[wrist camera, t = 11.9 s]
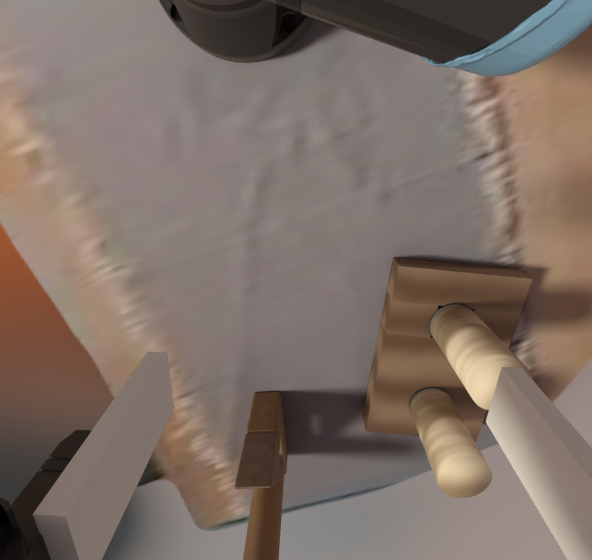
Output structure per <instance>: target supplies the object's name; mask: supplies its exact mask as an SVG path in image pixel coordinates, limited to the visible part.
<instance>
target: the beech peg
mask: <svg viewBox="0 0 592 560" xmlns="http://www.w3.org/2000/svg"><path fill="white" fill-rule="evenodd" d="M429 330H430V333H431V335H432V337H433V338H434V340H435V341H436V342H437V344H438V345H439V347H440V349H441V350H442V352H443V353H444V355H445V357H446V358H447V360H448V361H449V363H450V364H451V366H452V368H453V369H454V371H455V372H456V374H457V375H458V377H459V379H460V380H461V382H462V383H463V385H464V387H465V388H466V390H467V391H468V393H469V394H470V396H471V398H472V399H473V401H474V402H475V403H476V404H477V405H478V406H479V407H481V408H483V409H486V410H489V409H490V405H491V402H492V399H493V395H494V392H495V388H496V385H497V382H498V378H499V375H500V371H501V368H502V367H517V368H522V369H523V370H524V371H525V372H526V373H527V374H528V375H529V377H530V378H531V379H532V380H533V377H532V374H531V372H530V371H529V370H528V368H527V367H526V366H525V365H524V364H523V363H522V362H521V361H520V360H519V359H518V358H517V357H516V356H515V355H514V354H513V353H512V352H511V351H510V349H509V348H508V347H507V346H506V345H505V344H504V343H503V342H502V341H501V340H500V339H499V338H498V337H497V336H496V335H495V334H494V333H493V332H492V331H491V330H490V328H489V327H488V326H487V325H486V324H485V323H484V322H483V321H482V320H481V319H480V318H479V317H478V316H477V315H476V313H475V312H474V311H473V310H472V309H471V308H470V307H468V306H467V305H464V304H461V303H451V304H447V305H444V306H439V305H438V309H437V311H436V312H435V313H434V314H433V315H432V317H431V319H430V322H429Z"/></svg>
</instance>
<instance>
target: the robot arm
mask: <svg viewBox="0 0 592 560" xmlns="http://www.w3.org/2000/svg"><path fill="white" fill-rule="evenodd" d="M159 1H160V3H161V5H162V7H163V8H164V10H165V12H166V13H167V15H168V16H169V18H170V19H171V20H172V22H173V23H174V24H175V25H176V27H177V28H178V29H179V30H180V31H181V32H182V33H183V34H184V35H185V36H186V37H187V38H189V39H190V40H191V41H192V42H193V43H195V44H196V45H197V46H198V47H200V48H201V49H203V50H204V51H206V52H208V53H209V54H211V55H213V56H216V57H218V58H221V59H224V60H228V61H233V62H242V63H247V62H257V61H262V60H265V59H268V58H271V57H273V56H275V55H277V54H279V53H281V52H283V51H284V50H286V49H287V48H289V47H290V46H291V45H292V44H293V43H295V42H296V41H297V40H298V39H299V38H300V36H301V35H302V34H303V33H304V32H305V30H306V29H307V28H308V26H309V25H310V23H311V22H312V20H313V18H315V19H318V20H321V21H323V22H326V23H329V24H332V25H335V26H337V27H340V28H343V29H346V30H349V31H351V32H354V33H357V34H360V35H363V36H365V37H368V38H371V39H374V40H377V41H379V42H382V43H385V44H388V45H391V46H393V47H396V48H399V49H402V50H405V51H407V52H410V53H413V54H416V55H419V56H421V58H422V59H423V60H424V61H425V62H427V63H428V64H431V65H433V66H436V67H440V66H442V67H445V68H449V67H454V68H458V69H461V70H464V71H468V72H471V73H474V74H478V75H482V76H488V77H489V76H505V75H510V74H514V73H517V72H519V71H522V70H525V69H527V68H530V67H532V66H534V65H536V64H538V63H540V62H541V61H543V60H545V59H546V58H548V57H550V56H551V55H553V54H554V53H556V52H557V51H559V50H560V49H562V48H563V47H564V46H566V45H567V44H569V43H570V42H571V41H572V40H574V39H575V38H576V37H578V36H579V35H580V34H581V33H582V32H584V31H585V30H586V29H587V28H588V27H590V26H591V25H592V0H159ZM173 408H174V404H173V396H172V388H171V380H170V372H169V364H168V356H167V353H165V352H147V354H146V355H145V356H144V358H143V359H142V361H141V362H140V364H139V365H138V366H137V368H136V369H135V371H134V372H133V373H132V375H131V376H130V378H129V379H128V380H127V382H126V383H125V385H124V386H123V388H122V389H121V390H120V392H119V393H118V395H117V396H116V397H115V399H114V401H113V402H112V403H111V404H110V406H109V407H108V409H107V410H106V412H105V413H104V415H103V416H102V417H101V419H100V420H99V421H98V423H97V424H96V426H95V427H94V429H93V430H92V431H89V430H76V431H75V432H73V433H72V434H71V435H70V436H68V437H67V438H66V439H64V440H63V441H62V442H60V444H59V445H58V446H57V447H56V449H55V450H54V451H53V453H52V454H51V455H50V456H49V459H48V460H46V462H45V463H44V464H43V465H42V467H41V468H40V469H39V472H38V473H36V474H35V476H34V477H33V478H32V479H31V481H30V482H29V483H28V485H27V486H26V487H25V489H24V490H23V491H22V492H21V494H20V495H19V496H18V497H17V499H16V500H15V501H14V503H13V504H12V505H10V503H9V501H6V500H4V499H2V498H0V560H101V559H102V557H103V555H104V553H105V551H106V549H107V547H108V545H109V542H110V540H111V538H112V536H113V534H114V532H115V530H116V528H117V526H118V524H119V522H120V520H121V517H122V515H123V513H124V511H125V509H126V507H127V505H128V503H129V500H130V498H131V496H132V494H133V492H134V490H135V488H136V486H137V484H138V482H139V480H140V478H141V476H142V473H143V471H144V469H145V467H146V465H147V463H148V461H149V459H150V457H151V455H152V452H153V450H154V448H155V446H156V444H157V442H158V440H159V438H160V436H161V434H162V431H163V429H164V427H165V425H166V423H167V421H168V419H169V417H170V415H171V413H172V411H173ZM486 423H487V425H488V426H489V428H490V430H491V431H492V433H493V435H494V436H495V438H496V440H497V441H498V443H499V445H500V446H501V448H502V450H503V452H504V453H505V455H506V456H507V458H508V460H509V462H510V463H511V465H512V467H513V468H514V470H515V472H516V473H517V475H518V477H519V478H520V480H521V482H522V484H523V485H524V487H525V489H526V490H527V492H528V494H529V495H530V497H531V499H532V500H533V502H534V504H535V505H536V507H537V509H538V510H539V512H540V514H541V516H542V517H543V519H544V520H545V522H546V524H547V525H548V527H549V529H550V531H551V532H552V534H553V536H554V537H555V539H556V540H557V542H558V544H559V546H560V547H561V549H562V551H563V552H564V554H565V556H566V557H567V559H568V560H592V448H591V447H590V445H589V444H588V443H587V442H586V441H585V440H584V439H583V438H582V436H581V435H580V434H579V433H578V432H577V430H576V429H575V428H574V427H573V426H572V425H571V424H570V422H569V421H568V420H567V419H566V418H565V417H564V416H563V414H562V413H561V412H560V411H559V410H558V409H557V408H556V406H555V405H554V404H553V403H552V402H551V401H550V400H549V398H548V397H547V396H546V395H545V394H544V393H543V392H542V390H541V389H540V388H539V387H538V386H537V385H536V383H535V382H534V381H533V380H532V379H531V378H530V377H529V375H528V374H527V373H526V372H525V371H524V370H523V369H522V368H517V367H502V368H501V371H500V375H499V378H498V382H497V385H496V388H495V392H494V395H493V399H492V402H491V405H490V409H489V412H488V416H487V419H486Z"/></svg>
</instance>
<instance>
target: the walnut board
mask: <svg viewBox="0 0 592 560" xmlns="http://www.w3.org/2000/svg"><path fill="white" fill-rule="evenodd" d="M532 280H533V279H532V278H530V277H529V276H527V275H526V274H524V273H523V272H521V271H519V270H518V269H509V268H499V267H488V266H478V265H467V264H457V263H447V262H436V261H426V260H415V259H405V258H395V257H393V262H392V267H391V272H390V277H389V282H388V287H387V292H386V297H385V302H384V307H383V312H382V317H381V322H380V327H379V332H378V338H377V343H376V348H375V353H374V358H373V363H372V368H371V373H370V378H369V383H368V388H367V393H366V398H365V403H364V408H363V413H362V415H363V420H364V425H365V430H366V431H371V432H382V433H393V434H404V435H415V436H420V438H421V441H422V444H423V446H424V449H425V451H426V454H427V457H428V459H429V462H430V465H431V467H432V470H433V472H434V475H435V478H436V480H437V483H438V486H439V488H440V489H441V491H442V492H443V493H445V494H447V495H448V496H451V497H456V498H467V497H472V496H475V495H477V494H479V493H481V492H482V491H484V489H486V488H487V487H488V485H489V484H490V482H491V479H492V473H491V470H490V468H489V467H488V465H487V463H486V461H485V459H484V457H483V455H482V454H481V452H480V450H479V448H478V446H477V445H476V443H475V441H476V440H477V437H478V434H479V431H480V429H481V426H482V423H483V420H484V417H485V414H486V411H487V410H486V409H483V408H481V407H479V406H478V405H477V404H476V403H475V402H474V401H473V399H472V398H471V396H470V394H469V393H468V391H467V390H466V388H465V387H464V385H463V383H462V382H461V380H460V379H459V377H458V375H457V374H456V372H455V371H454V369H453V368H452V366H451V364H450V363H449V361H448V360H447V358H446V357H445V355H444V353H443V352H442V350H441V349H440V347H439V345H438V344H437V342H436V341H435V340H434V338H433V337H432V335H431V333H430V330H429V322H430V319H431V317H432V315H433V314H434V313H435V312H436V311H437V309H438V305H439V306H444V305H447V304H451V303H461V304H464V305H467V306H468V307H470V308H471V309H472V310H473V311H474V312H475V313H476V315H477V316H478V317H479V318H480V319H481V320H482V321H483V322H484V323H485V324H486V325H487V326H488V327H489V328H490V330H491V331H492V332H493V333H494V334H495V335H496V336H497V337H498V338H499V339H500V340H501V341H502V342H503V343H504V344H505V345H506V346H507V347H508V348H509V346H510V343H511V340H512V337H513V334H514V331H515V328H516V326H517V323H518V320H519V317H520V314H521V311H522V308H523V306H524V303H525V300H526V297H527V294H528V291H529V288H530V286H531V283H532Z"/></svg>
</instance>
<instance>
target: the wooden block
mask: <svg viewBox="0 0 592 560" xmlns="http://www.w3.org/2000/svg"><path fill="white" fill-rule="evenodd" d="M282 414H283V411H282V402H281V394H280V392H262V393H254V395H253V400H252V404H251V409H250V414H249V419H248V424H247V429H246V434H245V439H244V443H243V448H242V453H241V458H240V463H239V468H238V473H237V478H236V483H235V489H253V495H252V502H251V509H250V515H249V522H248V529H247V536H246V543H245V549H244V556H243V560H278V559H279V544H280V529H281V513H282V498H283V482H284V474H286V471H287V445H286V437H285V428H284V419H283V415H282Z"/></svg>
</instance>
